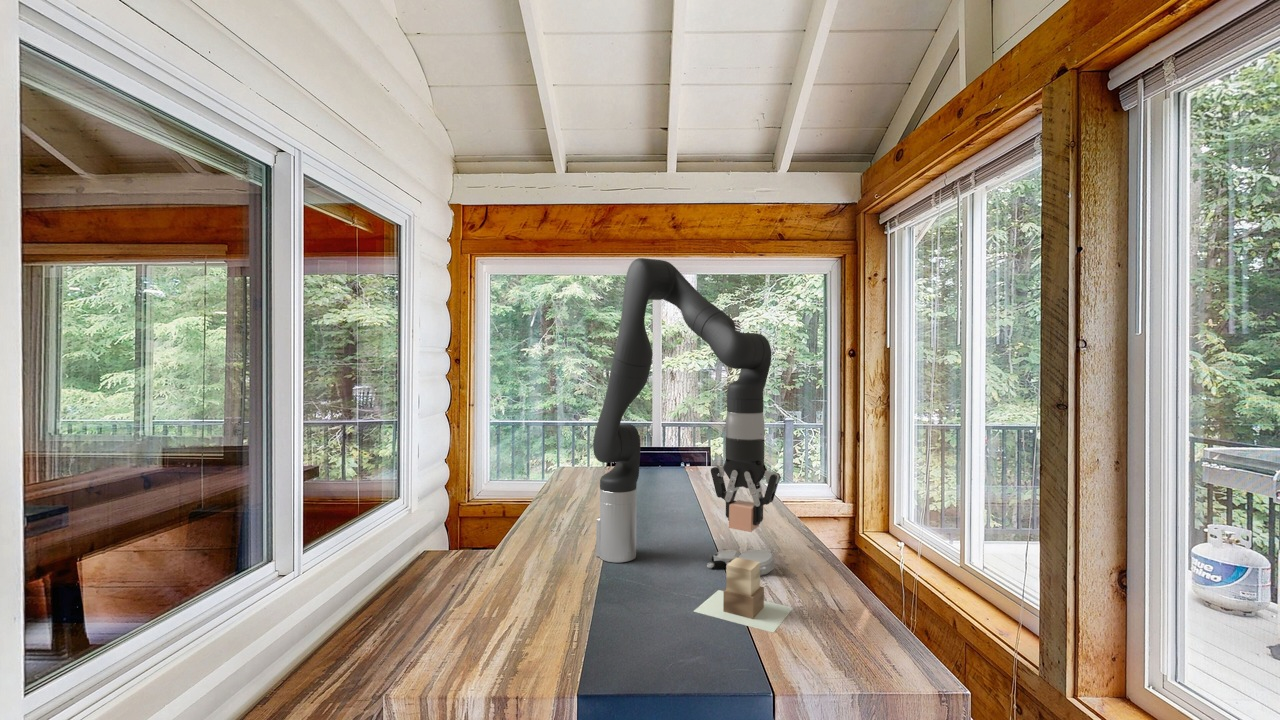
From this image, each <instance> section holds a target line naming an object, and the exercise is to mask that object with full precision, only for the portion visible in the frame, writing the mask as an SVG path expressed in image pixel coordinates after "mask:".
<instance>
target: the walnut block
mask: <svg viewBox="0 0 1280 720" xmlns="http://www.w3.org/2000/svg"><path fill="white" fill-rule="evenodd" d="M723 591H724V599H723V612H727V613H731V614H735V615H738V616H742V617H746V618H750V619H754V618H755V616H756V615H757V614H758V613H759V612H760V611H761V610H762V609H763V608H764V601H765V586H761V585H760V588H759V589H758V590H757V591H756V592H755V593H754V594H753V595H752V596H747V595H742V594H738V593H734V592H730V591H726V588H725V589H724V590H723Z"/></svg>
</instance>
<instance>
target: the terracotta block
mask: <svg viewBox="0 0 1280 720" xmlns="http://www.w3.org/2000/svg"><path fill="white" fill-rule="evenodd" d="M734 501H735V502H734V503H732V504H730V505H729V521H728V529H732V530H738V531H743V532H748V533H752V532H753V531H755V530H756V529H757V528H759V527H760V524H759V525H757V526H756V525H753V506H755V505H754V501H747V500H741V499H737V500H734Z"/></svg>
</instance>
